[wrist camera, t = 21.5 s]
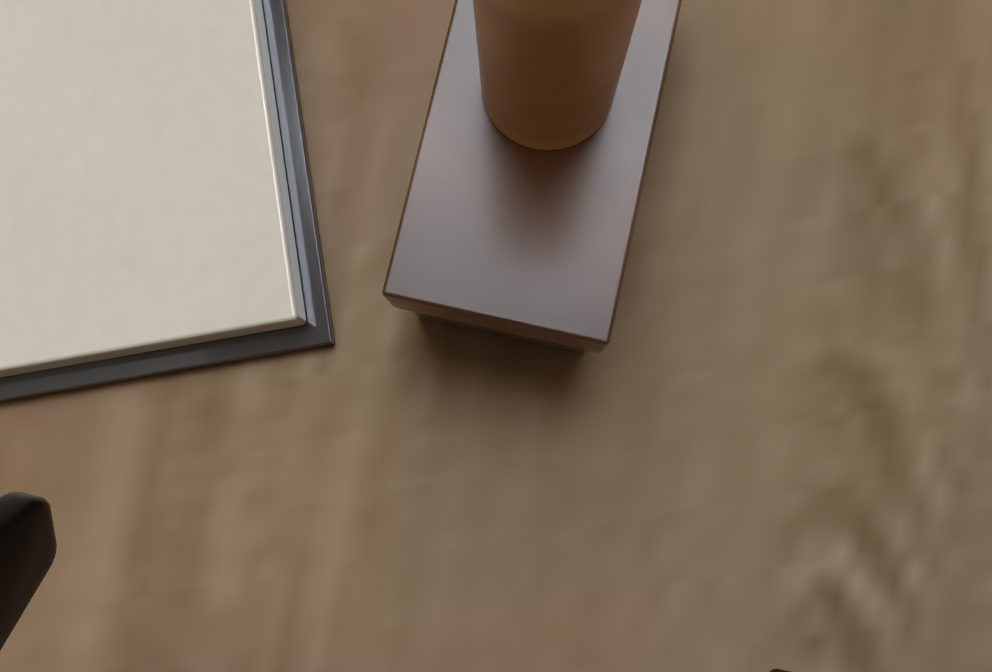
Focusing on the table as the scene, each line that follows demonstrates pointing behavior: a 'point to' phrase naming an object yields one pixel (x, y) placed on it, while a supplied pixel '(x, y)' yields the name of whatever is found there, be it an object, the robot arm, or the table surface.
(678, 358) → the table surface
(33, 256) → the white notepad
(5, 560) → the robot arm
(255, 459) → the table surface
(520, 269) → the cylinder on rectangular base
